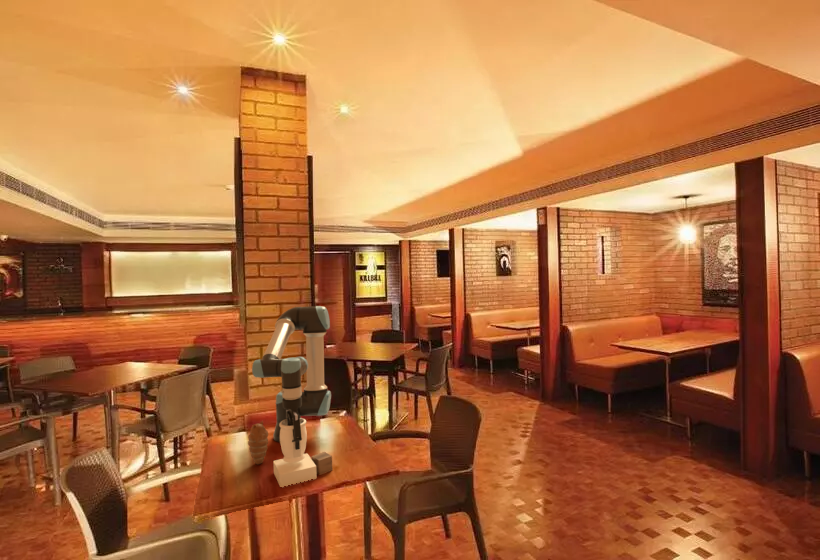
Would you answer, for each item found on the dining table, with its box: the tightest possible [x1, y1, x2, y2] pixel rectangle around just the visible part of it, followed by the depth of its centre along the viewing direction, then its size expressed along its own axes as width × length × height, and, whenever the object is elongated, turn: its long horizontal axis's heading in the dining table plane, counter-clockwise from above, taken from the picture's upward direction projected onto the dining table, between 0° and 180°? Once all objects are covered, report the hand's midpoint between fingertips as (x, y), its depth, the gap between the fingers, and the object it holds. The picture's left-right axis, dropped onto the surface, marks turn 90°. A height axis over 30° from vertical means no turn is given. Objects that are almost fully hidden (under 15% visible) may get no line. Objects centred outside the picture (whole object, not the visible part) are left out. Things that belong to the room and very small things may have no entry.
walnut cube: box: [311, 451, 333, 476], centre depth 178 cm, size 6×6×6 cm
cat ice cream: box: [247, 420, 269, 465], centre depth 186 cm, size 9×8×18 cm
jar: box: [279, 417, 308, 463], centre depth 174 cm, size 11×10×15 cm
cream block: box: [273, 452, 318, 488], centre depth 174 cm, size 14×14×5 cm
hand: (294, 451), depth 174 cm, fingers closed on jar, 10 cm apart
